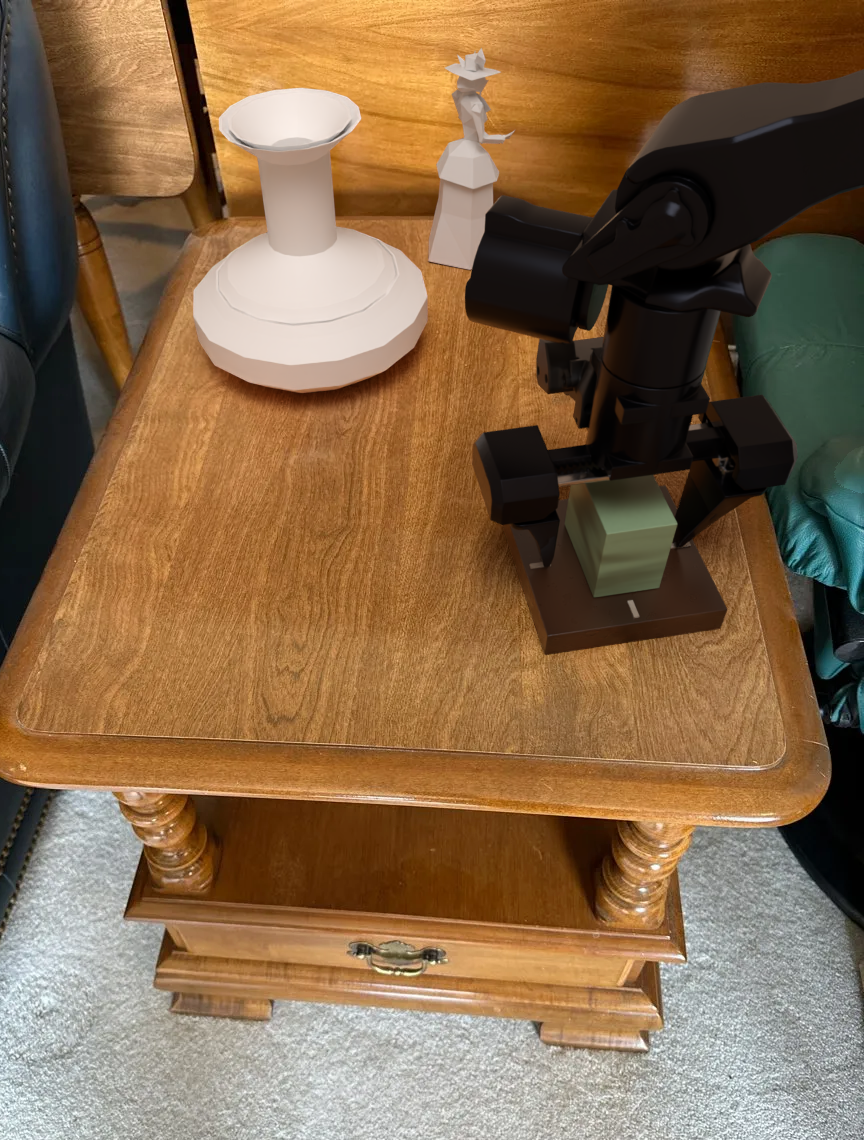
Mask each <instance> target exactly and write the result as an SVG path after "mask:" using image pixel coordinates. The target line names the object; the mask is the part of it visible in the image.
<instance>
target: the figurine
mask: <svg viewBox="0 0 864 1140" xmlns="http://www.w3.org/2000/svg"><path fill="white" fill-rule="evenodd" d="M456 56H457V59H458V61H459V63H453V64H450V65H447V66H445V67H444V69H445V70H447V71H449V72H450V73H452V74H454V75H456V76H458V78H457V80H456V86H457V87H456V88H457V89H456V90H454V91H453V92H452V93H451V96H452V100H453V103H454V105H455V108H456V112H457V114H458V116H457V117H458V119H459V121H461V124H462V130H463V137H462V138H458V139H455V140H453V141H449V142H448V143H447V145H446V146H445V147H444V150H443V152H442V154H441V155H440V157H439V158H438V160H437V162H436V164H435V165H436V169H437V174H438V178H439V189H438V199H437V202H436V206H435V211H434V216H433V220H432V224H431V228H430V233H429V237H428V259H427V260H428V262H431V263H435V264H439V265H440V264H441V265H445V266H449V267H455V268H459V269H464V270H471V271H472V267H473V263H474V259H475V255H476V252H477V249H478V246H479V244H480V241H481V239H482V236H483V234H484V231H485V214H486V213H487V212H488V210H489V209H490V208H491V207H492V206H493V204H494V183H497V181H498V179H499V175H500V173H501V172H500V170H499V169H498V167H497V165H496V164H495V162H494V160H493V159H492V157H491V155H490V153H489V152H488V150H487V149H485V148H484V147H483V146H482V145H483V144H489V145H500V144H502V145H503V144H504V142H505V141H506V140H510V139H511V137H512V136H513V134H514V133H515V131H516V129H514V130H513V131H511V132H509V133H507V134H489V133H487V132H486V131H485V123H486V122H487V121H488V120H489V119H488V115H487V113H488V112H490V111H492V109H491V107H490V106H489V104H488V102H487V101H486V99H485V97H483V96H482V93H483V91H484V89H485V87H486V86H487V84H488V83H489V79H487V78H486V77H490V76H494V75H498V74H500V73H502V71H500V70H497V69H494V68H490V67H489V68H488V67H485V63H486V61H487V60H486V56H485V54H484V51H483V48H482V47H480V49H479V50H478V52H476V49H474V53H471V54H465V55H464V56H465V57H464V58H462V57H461V56H460V55H458V54H456Z"/></svg>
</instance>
